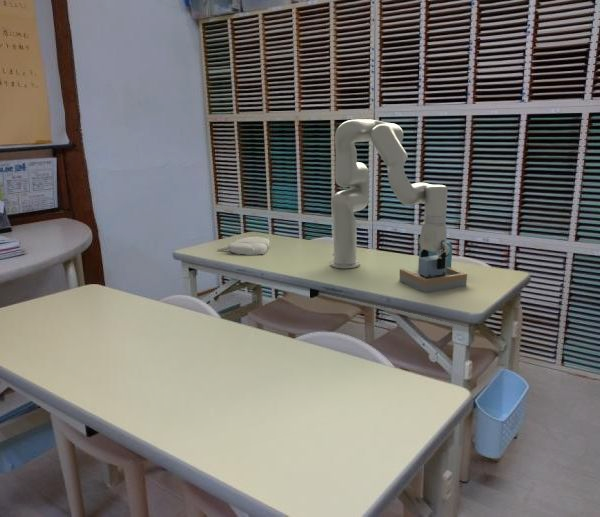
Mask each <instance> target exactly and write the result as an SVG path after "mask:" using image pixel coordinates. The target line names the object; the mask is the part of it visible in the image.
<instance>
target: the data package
mask: <svg viewBox="0 0 600 517" xmlns="http://www.w3.org/2000/svg"><path fill="white" fill-rule="evenodd" d="M446 244H447V245H448V246H449V247H450V252H449V255H448V256H447V258H448V259H447V267H450V268H452V258H453V245H452V243H450V241H449V240H447V243H446ZM418 252H419V253H418V254H419V255H418V256H419V257H418V259H419V258H421V252H420V249H419V251H418ZM428 252H429V256H435V255H437V253H433V252H430V251H428ZM440 254H442V252H441V253H440Z"/></svg>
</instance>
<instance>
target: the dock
mask: <svg viewBox="0 0 600 517" xmlns="http://www.w3.org/2000/svg"><path fill="white" fill-rule="evenodd" d="M467 279H468V273H466V272H463V271H460V270H458V269H455V268H452V267H451V268H450V267H447V274H446V275H445V276H442V277H441V276H440V275H436V276H431V278H429V279H426V278H425V276H424V277H421V276H420V275H419V274H418V271H412V272H411V271H409V270H407V269H405V268H399V282H402V283H403V282H404V284H405V283H406V285H407V284H408V286H410V287H412V288H414V289H416V290H418V291H420V292H422V293H424V294H426V293H427V294H428V293H432V292H438V291H444V290H448V289H450V290H451V289H455V288H461V287H467Z"/></svg>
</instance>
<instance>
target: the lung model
mask: <svg viewBox="0 0 600 517" xmlns="http://www.w3.org/2000/svg"><path fill="white" fill-rule="evenodd" d="M269 248H270V239H269V238H266V237H261V236H249V237H243V238H238V239H236V240H234V241H233V242H230V243H228V246H223V247H220V248H217V252H223V251H226V250H228V251H230V252H231V253H234V254H237V255H240V254H246V255H245V256H258V255H257V254H263V255H265V254H266V253H267V252H268V250H269ZM264 253H265V254H264Z"/></svg>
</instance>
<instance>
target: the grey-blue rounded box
mask: <svg viewBox="0 0 600 517" xmlns="http://www.w3.org/2000/svg"><path fill="white" fill-rule="evenodd" d="M437 258H439V257H438V255H435V256H428V257H421V258H419V257H418V266H417V268H418V270H417V272H418V274H419V275H420V276H421V277H424V276H425V278H426V279H429V278H431V276H436V275H440V276H441V277H442V276H445V275H446V274H447V259H448V258H446V259H445V268H444V269H437Z"/></svg>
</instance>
